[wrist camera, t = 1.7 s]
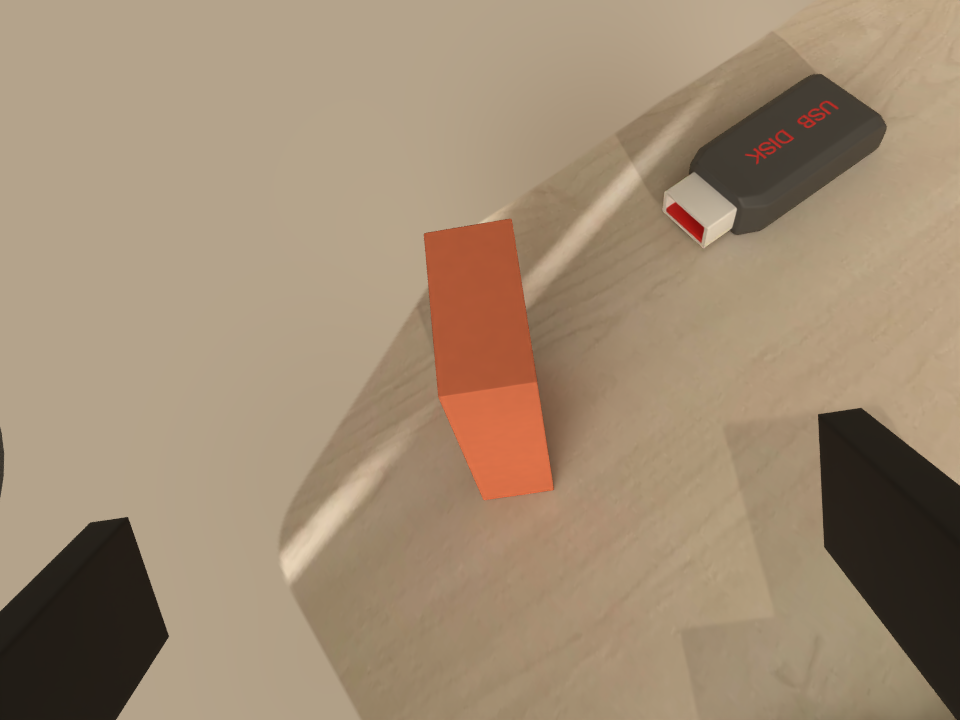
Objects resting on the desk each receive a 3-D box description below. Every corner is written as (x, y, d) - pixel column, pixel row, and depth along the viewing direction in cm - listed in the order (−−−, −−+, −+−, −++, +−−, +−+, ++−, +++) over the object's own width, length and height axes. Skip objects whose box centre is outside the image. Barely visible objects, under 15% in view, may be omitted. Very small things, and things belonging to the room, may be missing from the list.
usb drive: (879, 147, 43) (896, 110, 40) (715, 262, 41) (723, 231, 38) (808, 96, 45) (821, 59, 43) (650, 203, 43) (653, 170, 41)
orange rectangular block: (483, 500, 37) (438, 397, 26) (469, 370, 40) (423, 232, 29) (553, 490, 36) (537, 382, 26) (533, 360, 40) (511, 217, 29)
